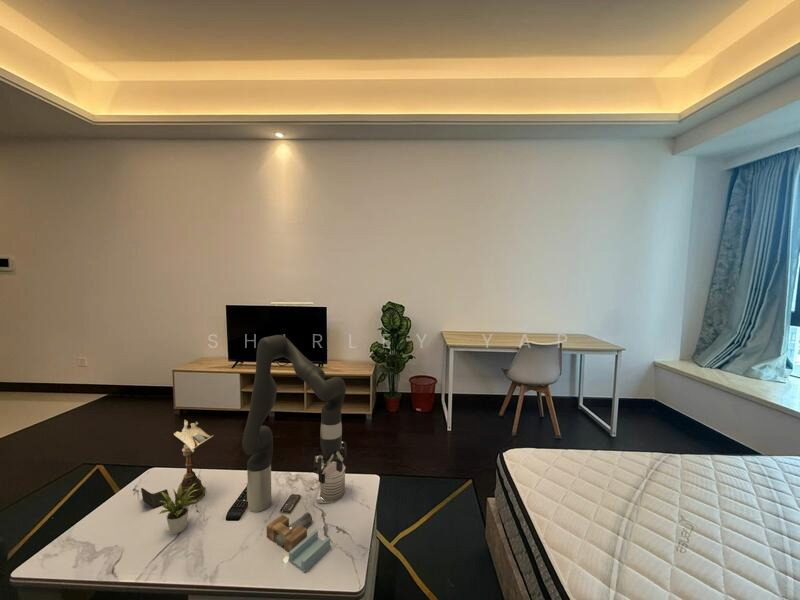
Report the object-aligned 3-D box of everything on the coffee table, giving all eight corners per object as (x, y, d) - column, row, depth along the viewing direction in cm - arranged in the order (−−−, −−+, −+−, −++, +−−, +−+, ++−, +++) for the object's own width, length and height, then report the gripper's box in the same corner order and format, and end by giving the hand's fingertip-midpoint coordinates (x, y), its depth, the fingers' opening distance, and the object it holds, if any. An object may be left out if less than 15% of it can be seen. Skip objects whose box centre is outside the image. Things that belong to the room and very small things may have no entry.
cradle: (288, 561, 111) (288, 551, 111) (315, 538, 121) (315, 529, 121) (304, 572, 107) (304, 562, 107) (330, 547, 117) (330, 538, 117)
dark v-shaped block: (176, 496, 142) (157, 484, 138) (161, 513, 138) (141, 502, 133) (167, 489, 149) (149, 478, 145) (153, 505, 145) (134, 495, 140)
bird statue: (223, 490, 149) (221, 415, 147) (200, 510, 136) (197, 428, 134) (193, 485, 153) (191, 411, 151) (168, 503, 140) (165, 423, 138)
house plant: (207, 529, 126) (205, 488, 125) (163, 550, 115) (161, 506, 114) (195, 511, 135) (194, 473, 134) (154, 529, 125) (152, 488, 124)
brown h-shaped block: (266, 537, 122) (266, 523, 121) (282, 525, 128) (282, 511, 127) (291, 554, 114) (291, 539, 114) (307, 541, 120) (306, 526, 120)
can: (349, 496, 145) (349, 470, 144) (325, 506, 139) (325, 479, 138) (339, 483, 155) (339, 458, 154) (315, 491, 148) (315, 466, 147)
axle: (282, 549, 117) (282, 538, 117) (275, 543, 119) (275, 533, 119) (312, 524, 129) (312, 515, 128) (305, 520, 131) (305, 510, 130)
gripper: (337, 423, 126) (337, 464, 127) (308, 438, 114) (308, 483, 115) (352, 428, 121) (351, 470, 123) (323, 444, 110) (323, 490, 111)
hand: (330, 476), depth 119 cm, fingers open, 8 cm apart
